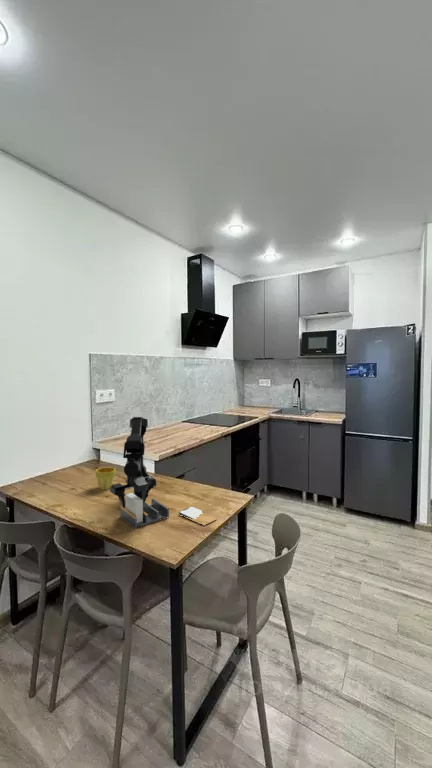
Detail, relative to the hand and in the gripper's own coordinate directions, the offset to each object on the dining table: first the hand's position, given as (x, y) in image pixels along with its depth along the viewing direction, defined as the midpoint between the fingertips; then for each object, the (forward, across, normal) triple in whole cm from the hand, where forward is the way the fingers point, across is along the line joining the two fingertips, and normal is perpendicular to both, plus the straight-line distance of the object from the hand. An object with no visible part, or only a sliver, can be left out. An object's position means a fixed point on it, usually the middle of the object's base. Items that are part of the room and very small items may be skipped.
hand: (134, 505), depth 135 cm
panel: (+6, 0, 0) cm, 6 cm away
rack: (+6, +5, 0) cm, 8 cm away
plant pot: (+7, +5, +45) cm, 46 cm away
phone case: (+7, +23, -14) cm, 28 cm away
